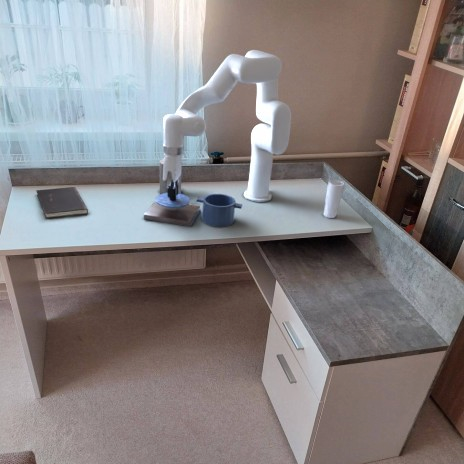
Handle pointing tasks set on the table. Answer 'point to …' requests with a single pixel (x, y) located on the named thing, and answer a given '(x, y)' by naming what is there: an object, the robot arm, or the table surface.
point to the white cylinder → (333, 197)
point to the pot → (218, 209)
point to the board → (172, 214)
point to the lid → (172, 200)
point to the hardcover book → (61, 202)
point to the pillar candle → (164, 183)
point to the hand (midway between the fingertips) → (172, 195)
